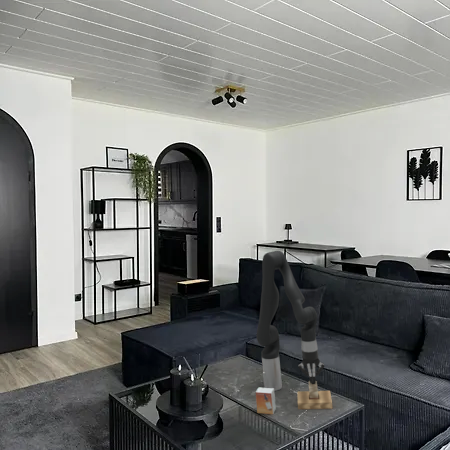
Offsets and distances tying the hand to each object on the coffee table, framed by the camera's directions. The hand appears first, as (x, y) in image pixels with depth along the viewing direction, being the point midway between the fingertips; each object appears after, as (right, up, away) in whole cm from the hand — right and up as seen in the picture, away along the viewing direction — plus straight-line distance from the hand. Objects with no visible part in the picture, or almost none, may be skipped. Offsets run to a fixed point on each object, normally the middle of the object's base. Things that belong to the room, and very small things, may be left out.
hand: (313, 383), depth 209 cm
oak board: (+1, -10, +1) cm, 10 cm away
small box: (-23, -13, -2) cm, 26 cm away
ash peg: (+1, -10, +1) cm, 10 cm away
